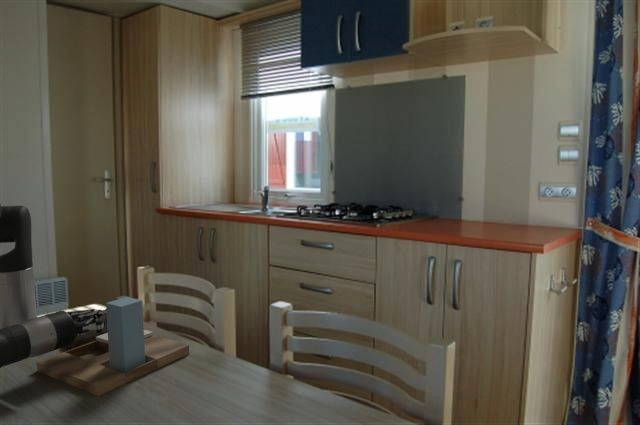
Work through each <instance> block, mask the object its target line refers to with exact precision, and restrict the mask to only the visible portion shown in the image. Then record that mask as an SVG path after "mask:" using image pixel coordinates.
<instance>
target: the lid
mask: <svg viewBox="0 0 640 425" xmlns="http://www.w3.org/2000/svg"><path fill="white" fill-rule="evenodd" d="M125 297H129V298H131V296H128V295H127V296H126V295H121V296H117V297H115V298H114V301H115V300H118V299H121V298H125ZM152 335H154V331H151V330H147V329H144V338H147V337H149V336H152ZM96 340H98V341H101V342H104V343H107V344H108V333H105V334H102V335H100V336H97V337H96Z"/></svg>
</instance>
